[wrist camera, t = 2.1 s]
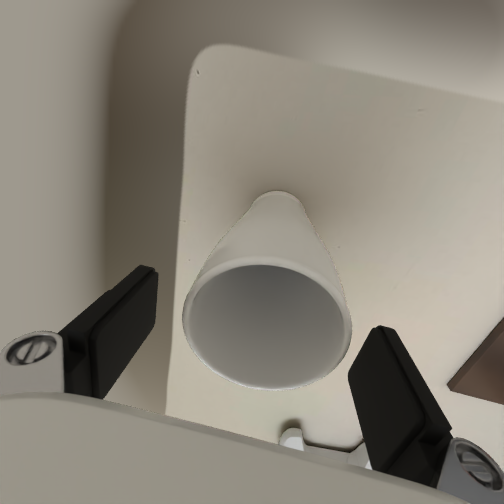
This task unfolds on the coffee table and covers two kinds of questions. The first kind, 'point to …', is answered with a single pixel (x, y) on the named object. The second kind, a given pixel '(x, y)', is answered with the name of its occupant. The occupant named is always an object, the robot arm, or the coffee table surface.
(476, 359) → the corner board
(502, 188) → the coffee table surface
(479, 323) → the coffee table surface
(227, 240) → the drinking glass
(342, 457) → the game controller
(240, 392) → the coffee table surface
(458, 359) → the coffee table surface
